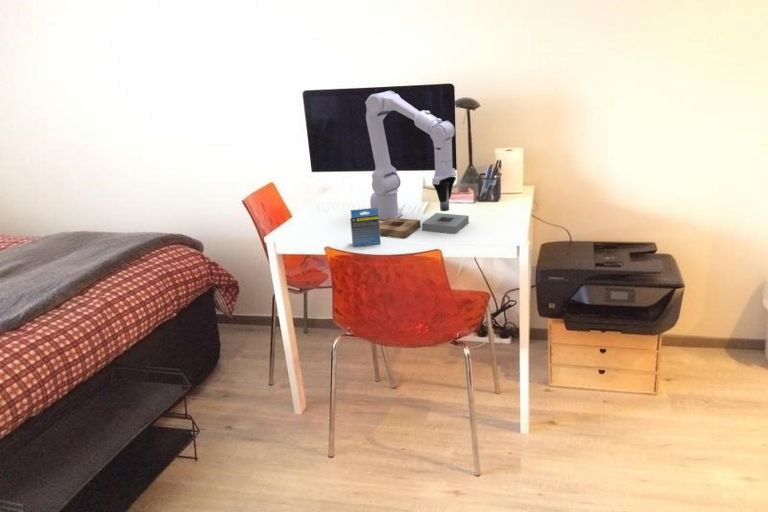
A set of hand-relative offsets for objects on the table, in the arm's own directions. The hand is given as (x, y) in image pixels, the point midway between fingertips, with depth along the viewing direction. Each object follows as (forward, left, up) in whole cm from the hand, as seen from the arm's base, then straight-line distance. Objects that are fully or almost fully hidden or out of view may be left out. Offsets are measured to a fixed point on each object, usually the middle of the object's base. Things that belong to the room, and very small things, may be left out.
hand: (444, 200), depth 203 cm
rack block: (0, 0, -9) cm, 9 cm away
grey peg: (0, 0, -3) cm, 3 cm away
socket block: (-14, -9, -9) cm, 19 cm away
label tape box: (-18, -23, -10) cm, 31 cm away
